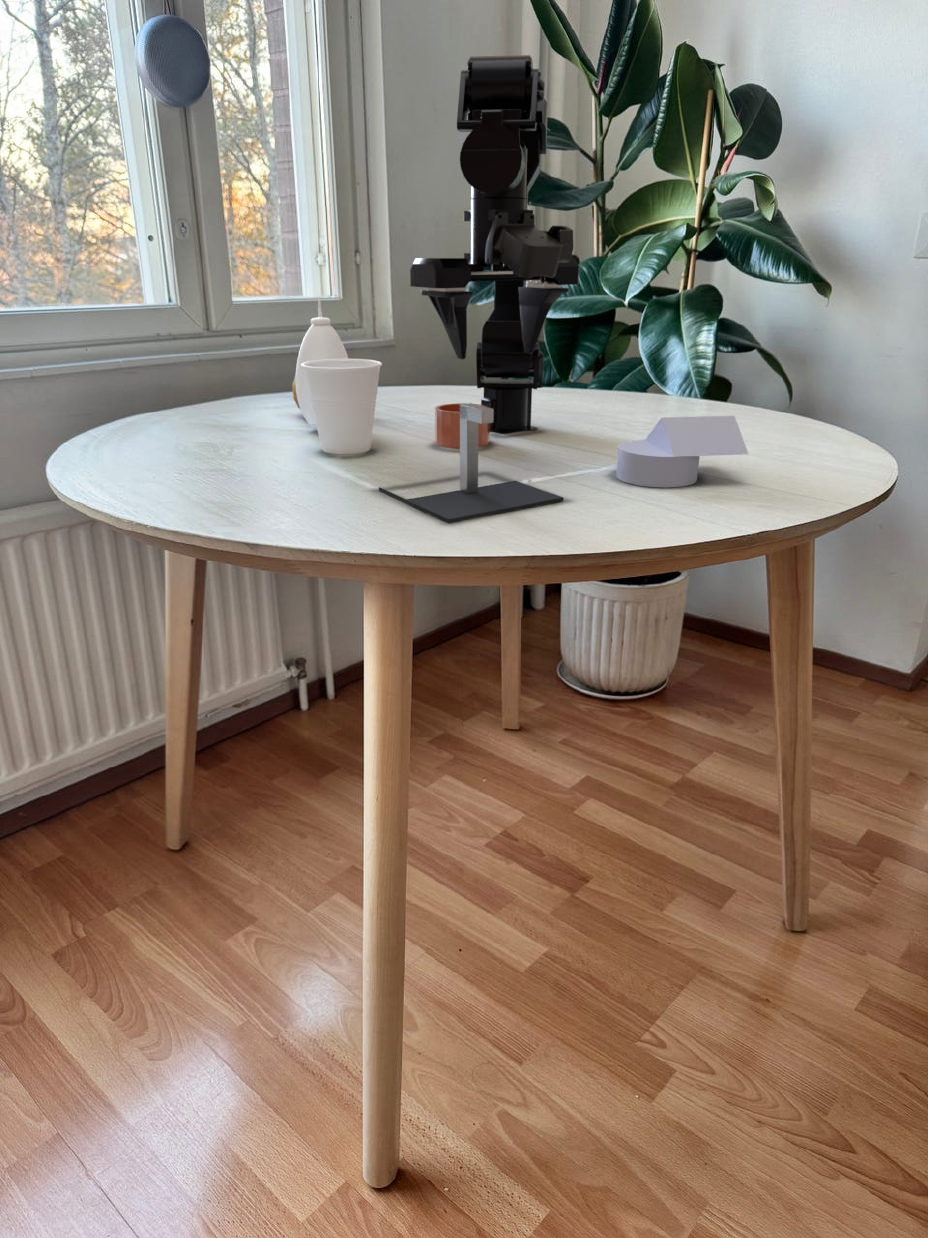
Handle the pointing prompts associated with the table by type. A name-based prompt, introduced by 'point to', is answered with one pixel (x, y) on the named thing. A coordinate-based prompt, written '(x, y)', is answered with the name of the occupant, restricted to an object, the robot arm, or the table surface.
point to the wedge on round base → (677, 450)
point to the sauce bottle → (316, 357)
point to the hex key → (471, 443)
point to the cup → (343, 402)
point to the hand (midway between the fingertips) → (495, 356)
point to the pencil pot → (454, 427)
